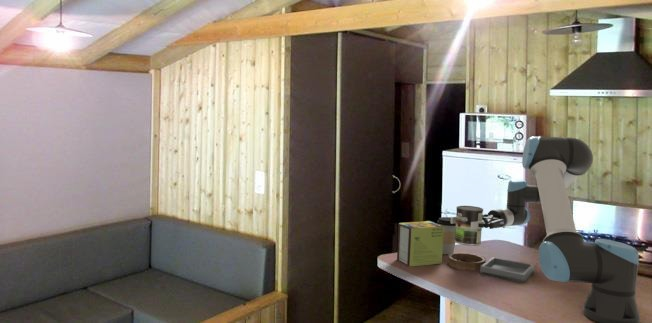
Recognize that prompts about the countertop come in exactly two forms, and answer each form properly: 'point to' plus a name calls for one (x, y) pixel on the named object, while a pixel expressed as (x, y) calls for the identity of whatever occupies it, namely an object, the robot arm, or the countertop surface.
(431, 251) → the protein box
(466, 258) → the holder ring
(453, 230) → the coffee cup
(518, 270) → the tray
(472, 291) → the countertop surface
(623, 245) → the robot arm
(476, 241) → the coffee can
